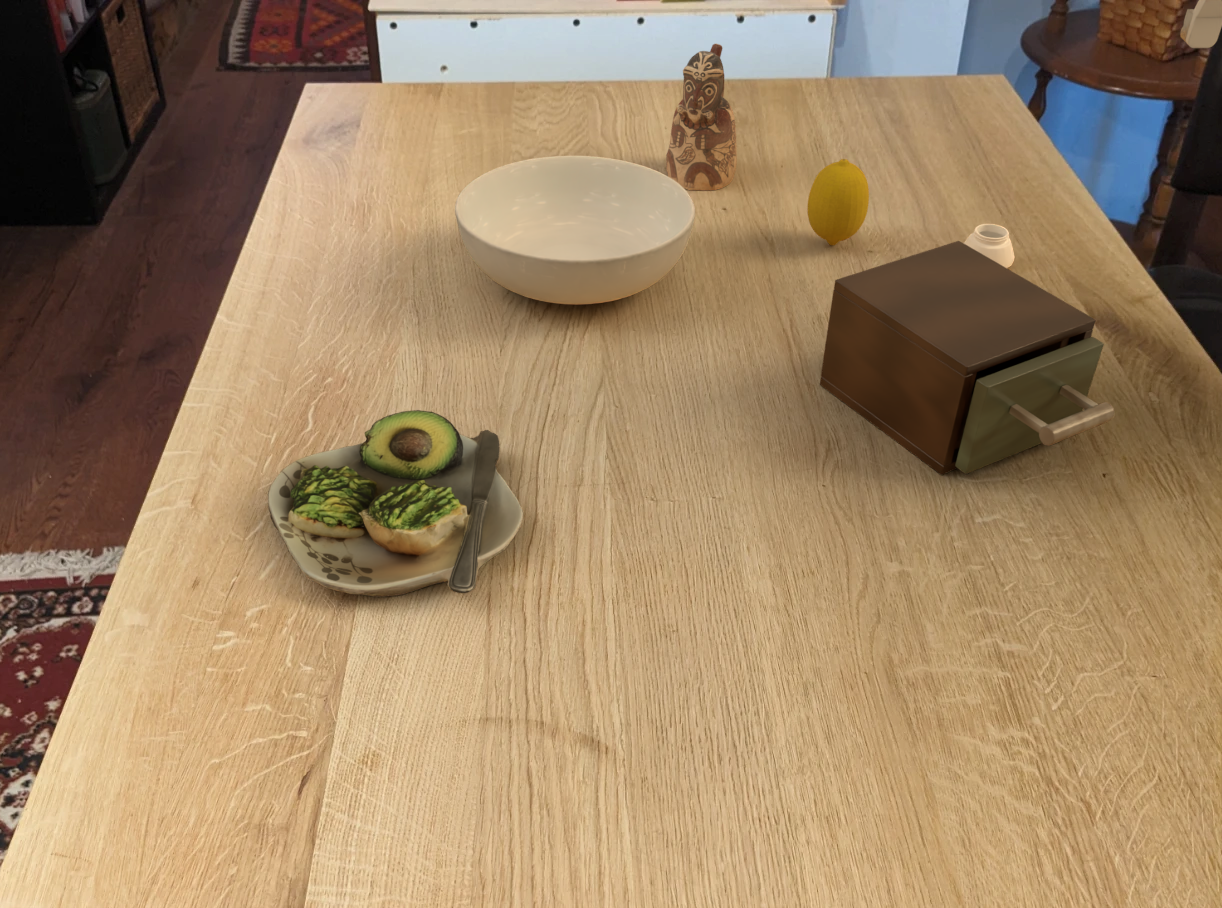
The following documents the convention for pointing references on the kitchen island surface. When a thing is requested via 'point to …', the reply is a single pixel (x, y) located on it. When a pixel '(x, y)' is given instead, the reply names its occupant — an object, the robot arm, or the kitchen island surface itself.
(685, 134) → the figurine
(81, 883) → the kitchen island surface
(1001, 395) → the drawer
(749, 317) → the kitchen island surface
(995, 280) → the cabinet
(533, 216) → the serving bowl
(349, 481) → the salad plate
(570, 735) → the kitchen island surface
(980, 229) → the white jar
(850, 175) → the lemon
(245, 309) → the kitchen island surface
